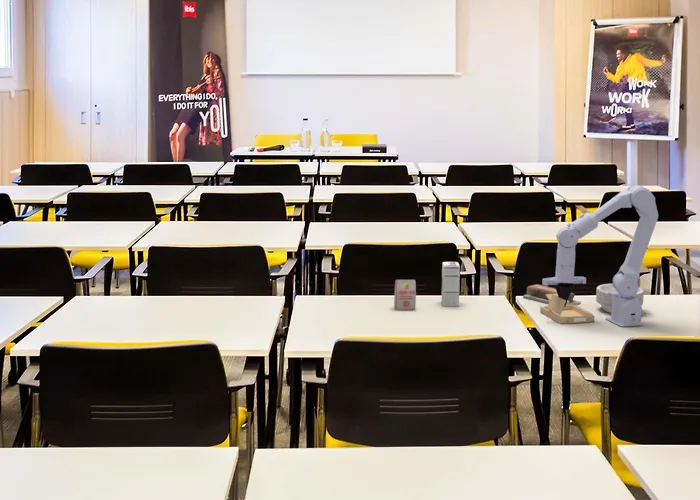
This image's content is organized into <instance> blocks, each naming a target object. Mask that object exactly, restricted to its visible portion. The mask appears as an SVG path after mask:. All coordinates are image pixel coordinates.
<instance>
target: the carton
mask: <svg viewBox="0 0 700 500" xmlns="http://www.w3.org/2000/svg"><path fill="white" fill-rule="evenodd" d="M547 306H548V305H546V306H543V305H542V306H540V307H539V308H540V309H539V310H540V311H539V312H540V314H542V315H544V316H546V317H548V318H549V319H551V320H553V321H554V322H556V323H558V324H560V325H566V324H579V323H593V322H595V316H596V315H594V314H593V313H591V312H590V311H588V310H586V309H584V308H582V307H580V306H579V305H566V307H564V308H563V310H562V313H561V315H558V314H557V313H555V312H553V311H551V310H549V309H548V308H547Z"/></svg>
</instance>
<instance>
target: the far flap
mask: <svg viewBox="0 0 700 500" xmlns="http://www.w3.org/2000/svg"><path fill="white" fill-rule="evenodd" d="M554 295H556V296H558V294H554ZM551 296H552V294H546V297H547V298H548V300H549V301H550V299H551ZM567 303H569V301H567Z"/></svg>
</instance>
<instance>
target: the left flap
mask: <svg viewBox="0 0 700 500" xmlns="http://www.w3.org/2000/svg"><path fill="white" fill-rule="evenodd" d="M565 303H566V300H564V299H562V298H560V297H558V296H556V295H554V294H552V296H551V299H550V301H549V304H547V305H546V306H547V308H548V309H549V310H551V311H553V312H555V313H557V314H558V315H561V313H562V310H563V308H564V305H565Z"/></svg>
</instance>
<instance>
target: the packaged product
mask: <svg viewBox="0 0 700 500" xmlns="http://www.w3.org/2000/svg"><path fill="white" fill-rule="evenodd" d="M546 294H557V291H556V289H555V287H549V286H545V285H543V284H538V283H537V284H532V285H528V286H527V287H526V293H525V294H523V296H522V299H526V300H528V301H529V300H530V301H533V302H537V303H541V304H544V305H548V304H549V300H548V298H547V297H546ZM574 297H575V293H573V292H571V294H570V296H569V298H568V301H569V303H567V304H566V305H575V306H579V305H581V304H582V301H579V300H575V299H574Z"/></svg>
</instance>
